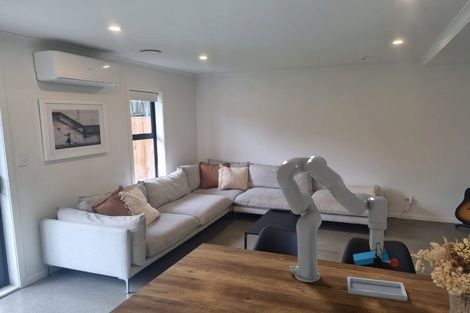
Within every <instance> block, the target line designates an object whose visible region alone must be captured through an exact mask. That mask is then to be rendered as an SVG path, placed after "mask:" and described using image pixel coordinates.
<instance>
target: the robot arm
mask: <svg viewBox="0 0 470 313" xmlns="http://www.w3.org/2000/svg"><path fill="white" fill-rule="evenodd" d="M299 174H308V175H309V176H311V177H312V178H313V179H314V180H316V181H317V182H318V183H319V184H320V185H322V186H323V187H324V188H325V189H326V190H328V192H329V193H330V194H331V195H332V197H334V199H335V201H336V202H337V203H338V204H340V205H341V206H342V207H343V208H344V209H346V210H347V211H348V212H349V213H351V214H353V215H355V216H361V215H363V214H365V213H366V211H367V212H368V216H367V218H368V220H367V221H368V222H367V226H368V229H369V242H368V243H369V247H370V252H371V251H374V263H372V265H373V267H380V268H381V267H382V263H383V262H382V258H381V252H382V251H383V249H384V242H385V240H384V238H385V234H384V232H385V230H386V229H388V228H387V225H388V222H387V221H388V199H387V198H386V197H385V196H380V195H370V194H366V193H365V194H364V193H357V194H355V193H353V192H352V191H351V190H350V189H349V188H348V187H347V186H346V184H345V183H344V180H343V177H342V176H341V175H340V174H339V173H338V172H336V171H335V170H333V169H332V168H331V167H330V166H329V165H328V162H327V160H326V159H325V158H324V157H323V156H320V155H315V156H314V155H313V156H296V157H292V158H289V159H287V160H285V161H284V162H282V163H281V164H280V166H278V169H277V171H276V182H277V184H278V186H279V187H280V190H281V191H282V194H283V197H284V199H285V201H286V203H287V205H288V207H289V209H290V210H291V213H293V214H295V215H300V217H299V218H298V219H297V222H296V226H295V228H296V229H295V230H296V235H297V265H295V266H293V265H289V266H288V270H290V272H291V273H294V277H295V279H297V280H298V281H301V282H303V283H314V282H318V281H319V280H321V273H320V272H319V271H318V236H317V230H318V229H319V227H320V226H321V224H322V221H323V220H322V219H323V218H322V215H321V212H320V211H319V209H318V207H317V205H316V203H315V201H314V199H313V197H312V195H311V194H310V193H309V192H306V191H303V190H301V188H300V186H299V184H298V183H297V182H296V180H295V177H296V176H297V175H299ZM376 252H377V253H376Z"/></svg>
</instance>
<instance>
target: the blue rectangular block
mask: <svg viewBox="0 0 470 313" xmlns="http://www.w3.org/2000/svg"><path fill="white" fill-rule="evenodd" d="M376 253H377V252H376ZM352 255H353V256H352V257H353V262H354V265H355V266H363V265H369V264H373V263H374V251H371V250H370V251H368V252H367V251H366V252H360V253H354V254H352ZM381 258H382V263H383V262H385V263H388V264H390V265H391V266H392V267H395V268H396V267H398V266H399V265H400V264H399V261H398V259H396V258H392V259H389V255H388V253H387V250H386V248H383V251H382V252H381Z"/></svg>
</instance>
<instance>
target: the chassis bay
mask: <svg viewBox="0 0 470 313" xmlns="http://www.w3.org/2000/svg"><path fill="white" fill-rule="evenodd" d="M347 294H348V295H353V296H358V297H359V296H360V297H366V298H367V297H368V298H376V299H382V300H390V301H391V300H392V301H398V302H407V303H408V295H407V292H406V289H405V287H404V283H403V282H398V281H389V280H383V279H381V280H380V279H371V278H363V277H356V276H347Z"/></svg>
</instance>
